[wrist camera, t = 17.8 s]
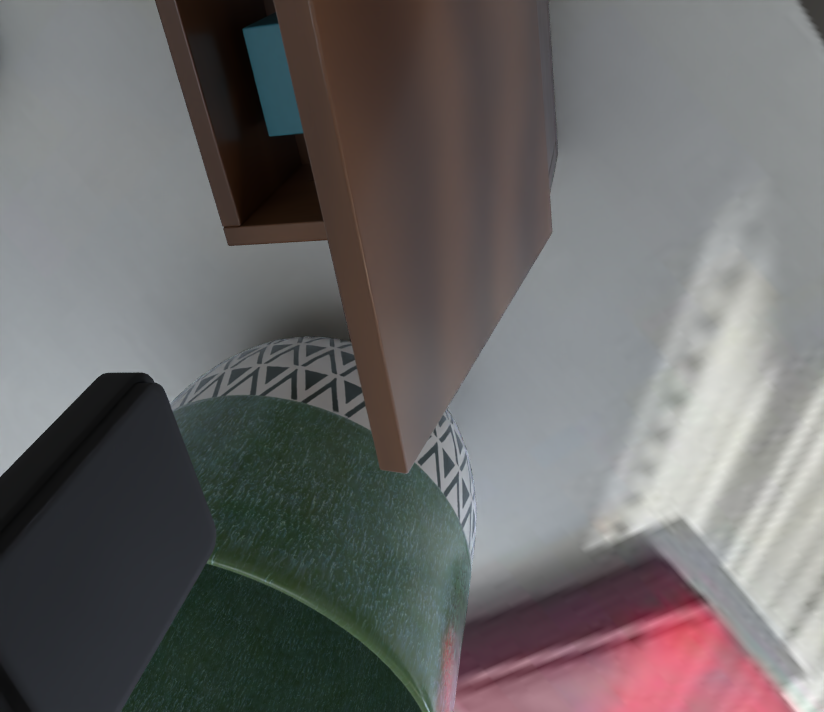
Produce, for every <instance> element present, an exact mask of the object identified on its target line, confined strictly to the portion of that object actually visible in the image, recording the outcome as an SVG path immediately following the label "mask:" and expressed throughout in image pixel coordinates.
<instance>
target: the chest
mask: <svg viewBox="0 0 824 712" xmlns="http://www.w3.org/2000/svg"><path fill="white" fill-rule="evenodd" d="M155 2H156V5H157V9H158V12H159V15H160V19H161V22H162V25H163V29H164V32H165V35H166V39H167V42H168V45H169V49H170V52H171V55H172V59H173V62H174V65H175V69H176V72H177V75H178V79H179V82H180V86H181V89H182V92H183V96H184V99H185V102H186V106H187V109H188V112H189V116H190V119H191V122H192V126H193V129H194V132H195V136H196V139H197V142H198V146H199V149H200V152H201V156H202V159H203V163H204V166H205V169H206V173H207V176H208V179H209V183H210V186H211V189H212V193H213V196H214V199H215V203H216V206H217V209H218V213H219V216H220V219H221V223H222V226H223V227H224V233H225V236H226V240H227V243H228V245H229V246H236V245H252V244H269V243H286V242H303V241H320V240H328V239H327V235H326V230H325V226H324V221H323V217H322V213H321V208H320V204H319V199H318V195H317V191H316V186H315V182H314V177H313V173H312V169H311V164H310V160H309V155H308V151H307V147H306V142H305V138H304V133H303V134H293V135H283V136H273V137H270V136H269V134H268V130H267V126H266V122H265V118H264V114H263V110H262V106H261V102H260V98H259V94H258V90H257V86H256V82H255V78H254V74H253V70H252V66H251V62H250V58H249V54H248V50H247V46H246V42H245V38H244V35H243V31H242V29H243V28H244V27H246V26H248V25H250V24H252V23H254V22H257V21H259V20H261V19H263V18H265V17H267V16H269V15H271V14H273V13H275V12H276V10H275V6H274V2H273V0H155ZM537 15H538V29H539V44H540V58H541V73H542V87H543V102H544V116H545V131H546V145H547V160H548V175H549V189H550V192H551V187H552V182H553V177H554V172H555V167H556V162H557V157H558V145H557V128H556V112H555V96H554V79H553V63H552V47H551V31H550V14H549V0H537Z"/></svg>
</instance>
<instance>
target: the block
mask: <svg viewBox="0 0 824 712" xmlns="http://www.w3.org/2000/svg"><path fill="white" fill-rule="evenodd" d="M242 31H243V35H244V38H245V42H246V46H247V50H248V54H249V58H250V62H251V66H252V70H253V74H254V78H255V82H256V86H257V90H258V94H259V98H260V102H261V106H262V110H263V114H264V118H265V122H266V126H267V130H268V134H269V136H270V137H273V136H283V135H293V134H303V129H302V125H301V120H300V116H299V111H298V107H297V103H296V98H295V94H294V89H293V85H292V81H291V76H290V72H289V67H288V63H287V59H286V54H285V50H284V46H283V41H282V37H281V32H280V28H279V24H278V19H277V15H276V12H275V13H273V14H271V15H269V16H267V17H265V18H263V19H261V20H259V21H257V22H254V23H252V24H250V25H248V26H246V27H244V28H243V29H242Z"/></svg>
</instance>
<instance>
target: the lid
mask: <svg viewBox="0 0 824 712" xmlns="http://www.w3.org/2000/svg"><path fill="white" fill-rule="evenodd" d="M273 2H274V6H275V10H276V15H277V19H278V24H279V28H280V32H281V37H282V41H283V46H284V50H285V54H286V59H287V63H288V67H289V72H290V76H291V81H292V85H293V89H294V94H295V98H296V103H297V107H298V111H299V116H300V120H301V125H302V129H303V133H304V138H305V142H306V147H307V151H308V155H309V160H310V164H311V169H312V173H313V177H314V182H315V186H316V191H317V195H318V199H319V204H320V208H321V213H322V217H323V221H324V226H325V230H326V235H327V239H328V243H329V248H330V252H331V257H332V261H333V265H334V270H335V274H336V279H337V283H338V287H339V292H340V296H341V301H342V305H343V309H344V314H345V318H346V323H347V327H348V331H349V336H350V340H351V345H352V349H353V353H354V358H355V362H356V367H357V371H358V375H359V380H360V384H361V388H362V393H363V397H364V402H365V406H366V410H367V415H368V419H369V424H370V428H371V432H372V437H373V441H374V446H375V450H376V454H377V459H378V463H379V468H380V469H381V470H384V471H391V472H397V473H404V474H407V473H408V472H409V471H410V469H411V467H412V466H413V464H414V462H415V461H416V459H417V457H418V456H419V454H420V452H421V451H422V449H423V447H424V446H425V444H426V442H427V441H428V439H429V437H430V436H431V434H432V432H433V431H434V429H435V427H436V426H437V424H438V422H439V421H440V419H441V417H442V416H443V414H444V412H445V411H446V409H447V407H448V406H449V404H450V402H451V401H452V399H453V397H454V396H455V394H456V392H457V391H458V389H459V387H460V386H461V384H462V382H463V381H464V379H465V377H466V376H467V374H468V372H469V371H470V369H471V367H472V366H473V364H474V362H475V361H476V359H477V357H478V356H479V354H480V352H481V351H482V349H483V347H484V346H485V344H486V342H487V341H488V339H489V337H490V336H491V334H492V332H493V331H494V329H495V327H496V326H497V324H498V322H499V321H500V319H501V317H502V316H503V314H504V312H505V311H506V309H507V307H508V306H509V304H510V302H511V301H512V299H513V297H514V296H515V294H516V292H517V291H518V289H519V287H520V286H521V284H522V282H523V281H524V279H525V277H526V276H527V274H528V272H529V271H530V269H531V267H532V266H533V264H534V262H535V261H536V259H537V257H538V256H539V254H540V252H541V251H542V249H543V247H544V246H545V244H546V242H547V241H548V239H549V237H550V236H551V234H552V218H551V204H550V189H549V175H548V160H547V145H546V131H545V116H544V102H543V87H542V73H541V58H540V44H539V29H538V15H537V0H273Z"/></svg>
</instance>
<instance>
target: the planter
mask: <svg viewBox="0 0 824 712" xmlns="http://www.w3.org/2000/svg"><path fill="white" fill-rule="evenodd" d="M170 406H171V408H172V411H173V414H174V416H175V419H176V422H177V425H178V427H179V430H180V433H181V435H182V438H183V441H184V443H185V446H186V449H187V451H188V454H189V457H190V459H191V462H192V465H193V467H194V470H195V473H196V475H197V478H198V481H199V483H200V486H201V489H202V491H203V494H204V497H205V499H206V502H207V505H208V508H209V510H210V513H211V516H212V518H213V521H214V524H215V527H216V543H215V547H214V550H213V552H212V554H211V556H210V558H209V559H208V561H207V563H206V565H205V566H204V568H203V570H202V571H201V573H200V575H199V577H198V578H197V580H196V582H195V584H194V585H193V587H192V589H191V591H190V592H189V594H188V596H187V598H186V599H185V601H184V603H183V604H182V606H181V608H180V610H179V611H178V613H177V615H176V617H175V618H174V620H173V622H172V624H171V625H170V627H169V629H168V631H167V632H166V634H165V636H164V637H163V639H162V641H161V643H160V644H159V646H158V648H157V650H156V651H155V653H154V655H153V657H152V658H151V660H150V662H149V664H148V665H147V667H146V669H145V670H144V672H143V674H142V676H141V677H140V679H139V681H138V683H137V684H136V686H135V688H134V690H133V691H132V693H131V695H130V697H129V698H128V700H127V702H126V703H125V705H124V707H123V709H122V710H121V712H454V705H455V696H456V687H457V679H458V671H459V662H460V655H461V648H462V641H463V634H464V627H465V620H466V613H467V605H468V596H469V587H470V579H471V570H472V562H473V554H474V547H475V537H476V518H477V507H476V497H475V487H474V479H473V474H472V469H471V464H470V460H469V456H468V452H467V449H466V446H465V443H464V441H463V438H462V436H461V433H460V431H459V428H458V426H457V425H456V423H455V421H454V419H453V417H452V416H451V414H450V412H449V411H448V409H446V411H445V412H444V414H443V416H442V417H441V419H440V421H439V422H438V424H437V426H436V427H435V429H434V431H433V432H432V434H431V436H430V437H429V439H428V441H427V442H426V444H425V446H424V447H423V449H422V451H421V452H420V454H419V456H418V457H417V459H416V461H415V462H414V464H413V466H412V467H411V469H410V471H409V472H408V473H407V474H404V473H397V472H391V471H384V470H381V469H380V468H379V463H378V459H377V454H376V450H375V446H374V441H373V437H372V432H371V428H370V424H369V419H368V415H367V410H366V406H365V402H364V397H363V393H362V388H361V384H360V380H359V375H358V371H357V367H356V362H355V358H354V353H353V349H352V345H351V342H350V341H345V340H341V339H335V338H327V337H295V338H286V339H280V340H275V341H271V342H268V343H264V344H261V345H258V346H255V347H253V348H250V349H248V350H245V351H243V352H241V353H239V354H237V355H235V356H233V357H231V358H229V359H228V360H226V361H224V362H222V363H220V364H219V365H217V366H216V367H214V368H213V369H211V370H210V371H208V372H207V373H205V374H204V375H202V376H201V377H199V378H198V379H197V380H195V381H194V382H193V383H192V384H191V385H189V386H188V387H187V388H186V389H185V390H184V391H183V392H182V393H181V394H179V395H178V396H177V397H176V398H175V399H174V400H173V401H172V402H171V403H170Z"/></svg>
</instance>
